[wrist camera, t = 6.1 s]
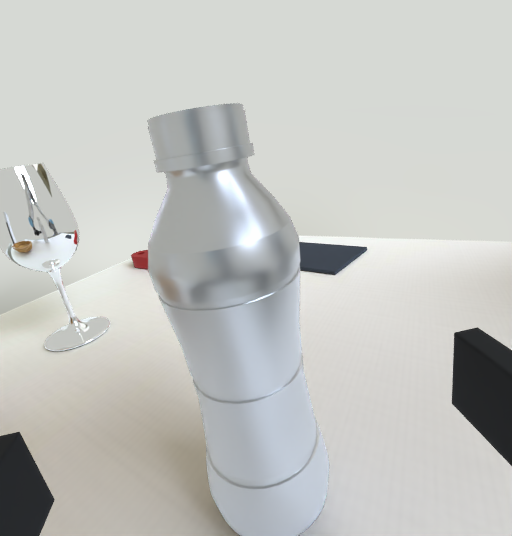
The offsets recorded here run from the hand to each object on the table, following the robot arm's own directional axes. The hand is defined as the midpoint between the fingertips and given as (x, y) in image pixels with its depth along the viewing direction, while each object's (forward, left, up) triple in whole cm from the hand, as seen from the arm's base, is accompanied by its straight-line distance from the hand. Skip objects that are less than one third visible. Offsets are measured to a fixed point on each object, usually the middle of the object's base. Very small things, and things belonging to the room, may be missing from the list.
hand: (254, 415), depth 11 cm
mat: (+23, -38, -11) cm, 46 cm away
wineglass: (+37, -7, -11) cm, 39 cm away
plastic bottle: (+4, -4, -11) cm, 13 cm away
